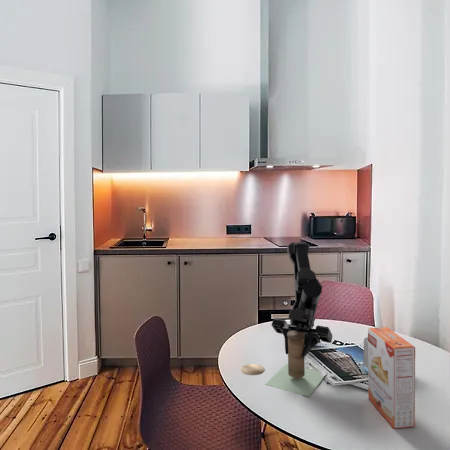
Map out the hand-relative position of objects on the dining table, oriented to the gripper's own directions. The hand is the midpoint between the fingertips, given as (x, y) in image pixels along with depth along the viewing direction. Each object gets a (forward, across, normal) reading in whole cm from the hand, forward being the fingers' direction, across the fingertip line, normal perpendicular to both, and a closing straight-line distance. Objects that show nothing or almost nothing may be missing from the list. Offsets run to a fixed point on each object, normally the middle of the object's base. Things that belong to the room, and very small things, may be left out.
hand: (294, 355), depth 120 cm
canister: (+4, 0, +6) cm, 7 cm away
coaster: (+6, -15, +6) cm, 17 cm away
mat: (+5, 0, +7) cm, 9 cm away
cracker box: (+9, +28, +3) cm, 30 cm away
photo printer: (-9, +20, +21) cm, 30 cm away
